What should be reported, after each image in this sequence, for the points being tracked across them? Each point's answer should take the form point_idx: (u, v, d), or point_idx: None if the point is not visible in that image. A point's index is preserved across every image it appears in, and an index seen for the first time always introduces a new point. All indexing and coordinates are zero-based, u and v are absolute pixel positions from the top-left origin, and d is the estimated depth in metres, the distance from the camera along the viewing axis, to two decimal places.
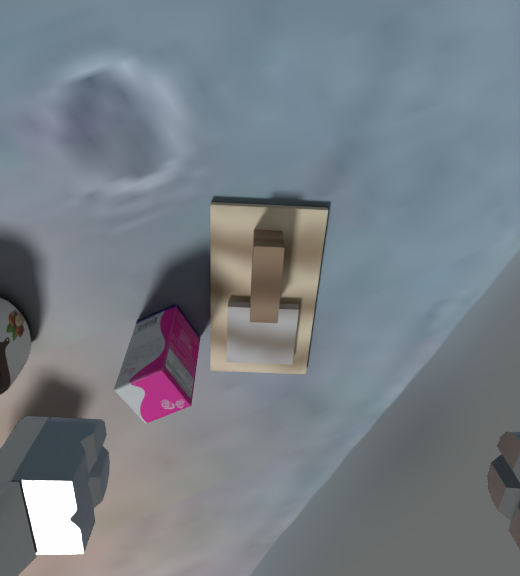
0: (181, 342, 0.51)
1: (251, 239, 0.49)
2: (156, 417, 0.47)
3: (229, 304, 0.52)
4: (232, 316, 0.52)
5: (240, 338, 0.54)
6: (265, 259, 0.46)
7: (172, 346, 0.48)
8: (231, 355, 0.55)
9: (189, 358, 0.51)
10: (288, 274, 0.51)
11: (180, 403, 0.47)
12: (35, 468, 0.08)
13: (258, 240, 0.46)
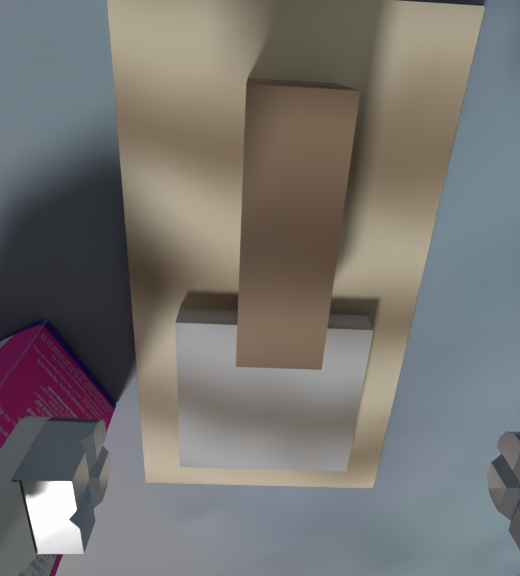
0: None
1: (240, 114, 0.16)
2: None
3: (181, 316, 0.19)
4: (189, 351, 0.19)
5: (213, 408, 0.20)
6: (290, 142, 0.13)
7: None
8: (191, 451, 0.22)
9: None
10: (346, 229, 0.18)
11: None
12: (35, 468, 0.08)
13: (263, 82, 0.13)
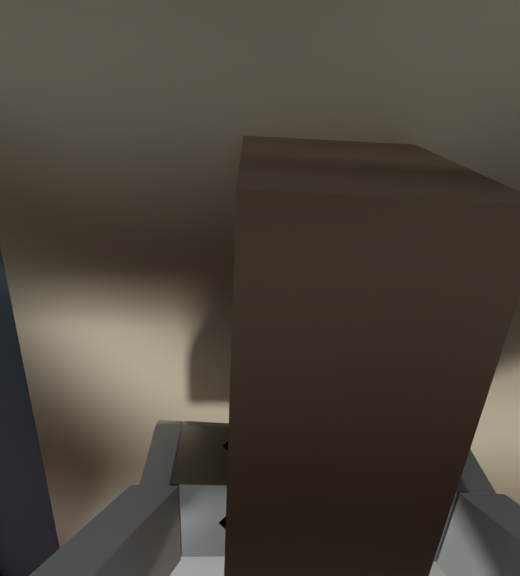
0: None
1: (230, 201, 0.08)
2: None
3: None
4: None
5: None
6: (350, 325, 0.05)
7: None
8: None
9: None
10: None
11: None
12: (189, 472, 0.08)
13: (278, 165, 0.06)
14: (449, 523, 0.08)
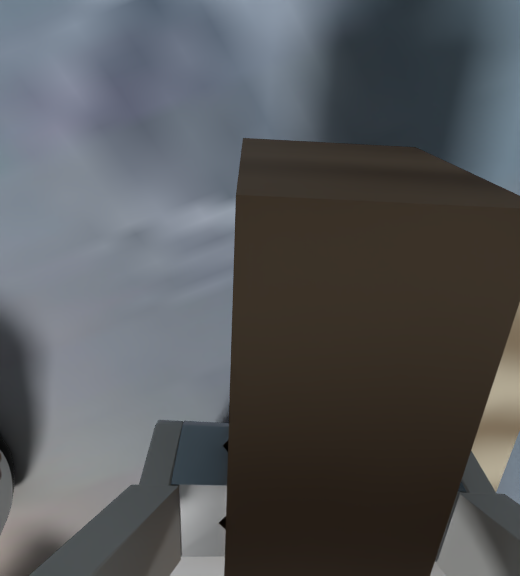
0: None
1: None
2: None
3: None
4: None
5: None
6: (351, 329, 0.05)
7: None
8: None
9: None
10: None
11: None
12: (188, 472, 0.08)
13: (278, 169, 0.06)
14: (449, 523, 0.08)
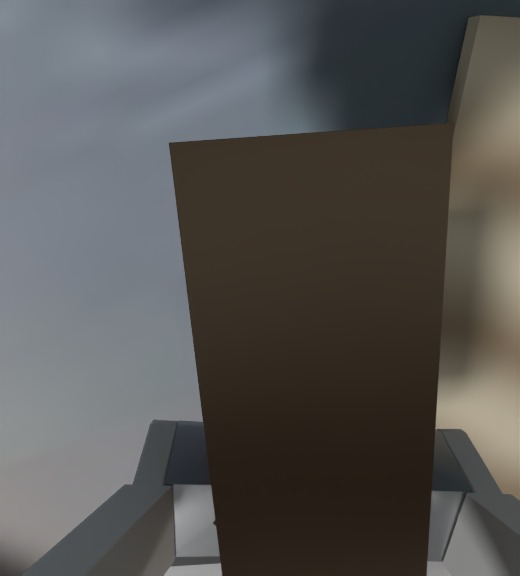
0: None
1: None
2: None
3: None
4: None
5: None
6: (295, 263, 0.05)
7: None
8: None
9: None
10: None
11: None
12: (182, 472, 0.08)
13: None
14: (455, 523, 0.08)
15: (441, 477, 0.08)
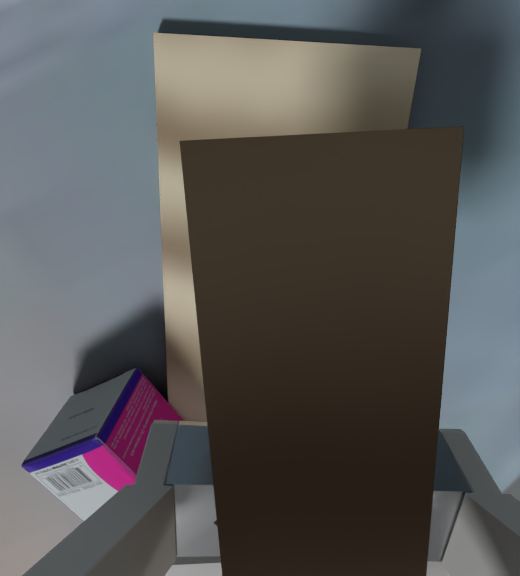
0: None
1: (247, 124, 0.22)
2: None
3: None
4: None
5: None
6: (302, 262, 0.05)
7: None
8: None
9: None
10: None
11: None
12: (184, 472, 0.08)
13: None
14: (454, 523, 0.08)
15: (440, 477, 0.08)
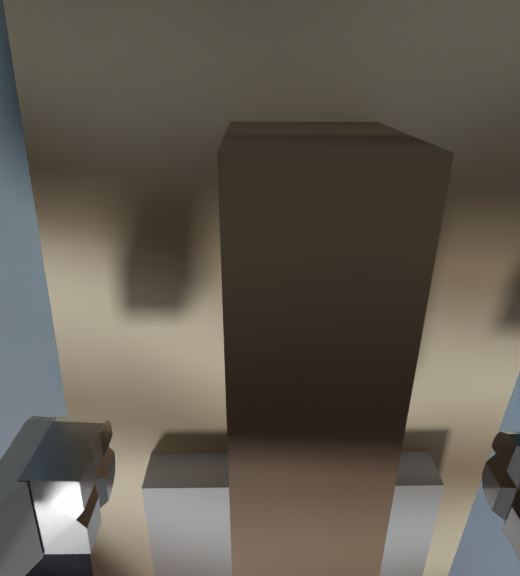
0: None
1: None
2: None
3: (152, 473, 0.13)
4: (166, 523, 0.13)
5: None
6: (312, 257, 0.06)
7: None
8: None
9: None
10: None
11: None
12: (42, 468, 0.08)
13: (254, 138, 0.07)
14: None
15: None
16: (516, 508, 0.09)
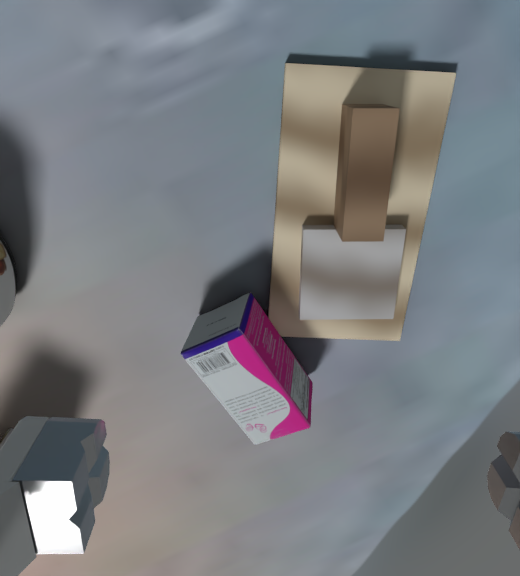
0: (276, 358, 0.38)
1: None
2: None
3: (305, 227, 0.36)
4: (309, 245, 0.36)
5: (320, 280, 0.38)
6: (370, 131, 0.30)
7: (287, 387, 0.38)
8: (306, 309, 0.39)
9: (282, 351, 0.40)
10: None
11: None
12: (35, 468, 0.08)
13: (356, 106, 0.31)
14: None
15: None
16: None
